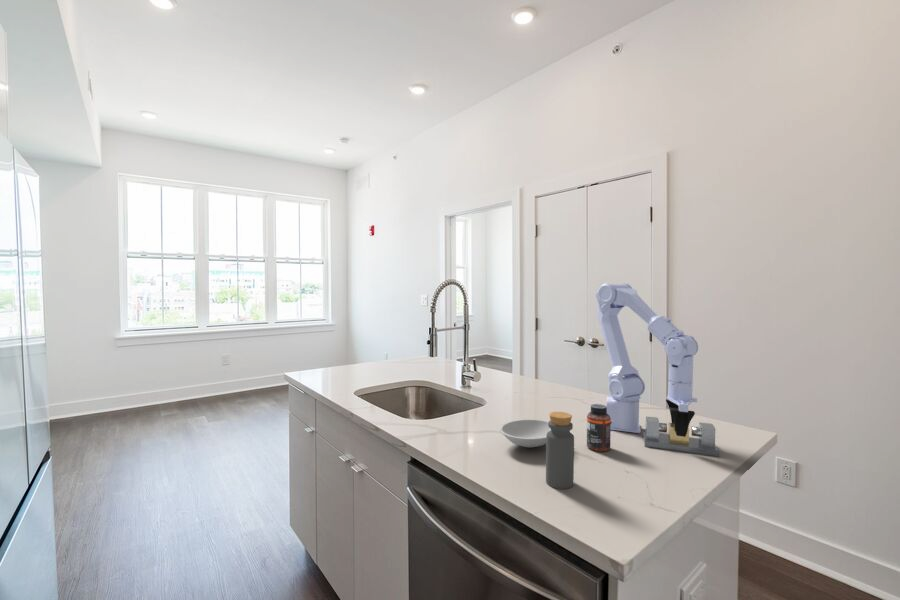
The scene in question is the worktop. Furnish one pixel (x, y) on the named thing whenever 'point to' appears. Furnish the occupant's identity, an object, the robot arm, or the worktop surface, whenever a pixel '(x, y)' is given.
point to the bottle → (560, 451)
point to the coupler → (674, 437)
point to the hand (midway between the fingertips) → (678, 431)
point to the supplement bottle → (598, 428)
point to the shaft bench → (696, 445)
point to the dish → (526, 432)
